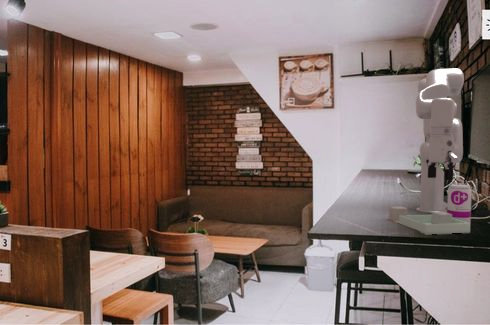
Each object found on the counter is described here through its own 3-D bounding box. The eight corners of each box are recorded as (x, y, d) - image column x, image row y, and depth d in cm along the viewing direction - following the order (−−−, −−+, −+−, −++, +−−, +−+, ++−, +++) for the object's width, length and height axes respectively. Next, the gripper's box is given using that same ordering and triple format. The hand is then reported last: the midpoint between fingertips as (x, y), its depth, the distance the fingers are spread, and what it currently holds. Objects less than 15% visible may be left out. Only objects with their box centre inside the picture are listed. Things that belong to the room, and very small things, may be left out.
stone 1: (399, 218, 183) (400, 206, 183) (407, 220, 178) (407, 208, 178) (388, 219, 182) (389, 206, 181) (396, 221, 177) (396, 208, 176)
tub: (439, 223, 177) (439, 214, 176) (470, 233, 159) (470, 223, 159) (398, 224, 173) (399, 215, 173) (426, 234, 156) (426, 224, 156)
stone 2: (443, 225, 170) (443, 212, 169) (451, 227, 165) (452, 214, 165) (431, 225, 169) (431, 212, 169) (439, 228, 164) (439, 214, 164)
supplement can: (469, 226, 170) (470, 187, 169) (445, 224, 174) (446, 185, 173) (471, 223, 177) (472, 185, 176) (448, 221, 181) (449, 183, 180)
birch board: (418, 218, 186) (418, 217, 186) (430, 222, 178) (430, 221, 178) (384, 219, 184) (384, 218, 184) (395, 224, 175) (395, 222, 175)
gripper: (466, 132, 158) (464, 181, 159) (436, 132, 175) (434, 176, 176) (447, 132, 156) (445, 181, 157) (418, 132, 173) (417, 177, 174)
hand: (439, 179), depth 167 cm, fingers open, 9 cm apart
